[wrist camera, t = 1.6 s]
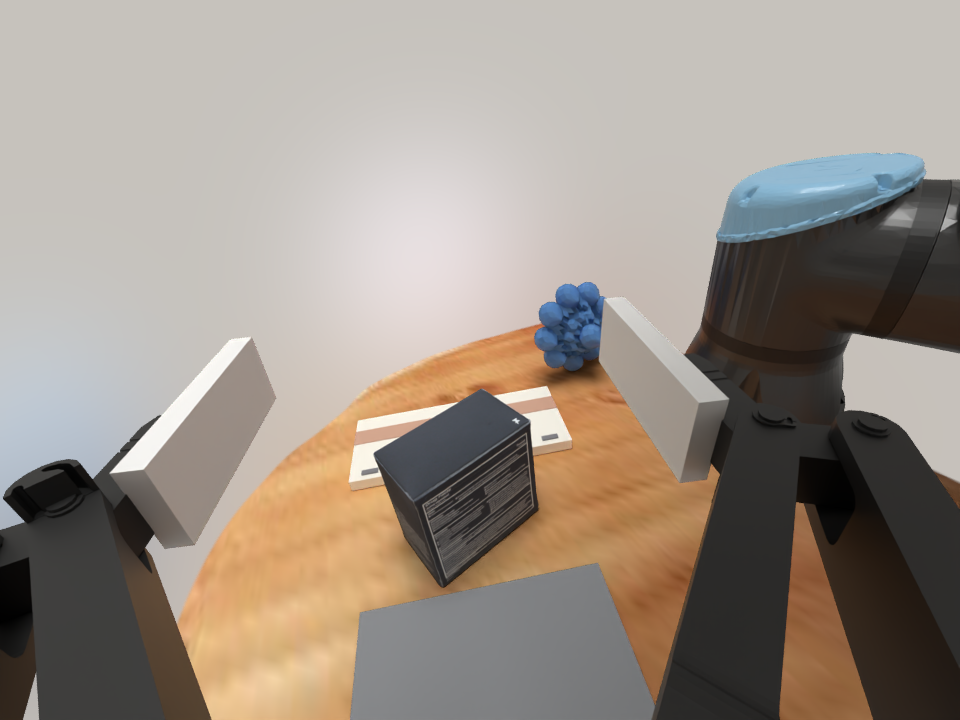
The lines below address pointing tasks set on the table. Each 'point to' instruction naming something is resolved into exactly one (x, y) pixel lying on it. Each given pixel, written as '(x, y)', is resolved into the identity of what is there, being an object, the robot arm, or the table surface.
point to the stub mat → (502, 655)
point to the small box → (461, 482)
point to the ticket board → (385, 429)
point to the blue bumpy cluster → (571, 326)
